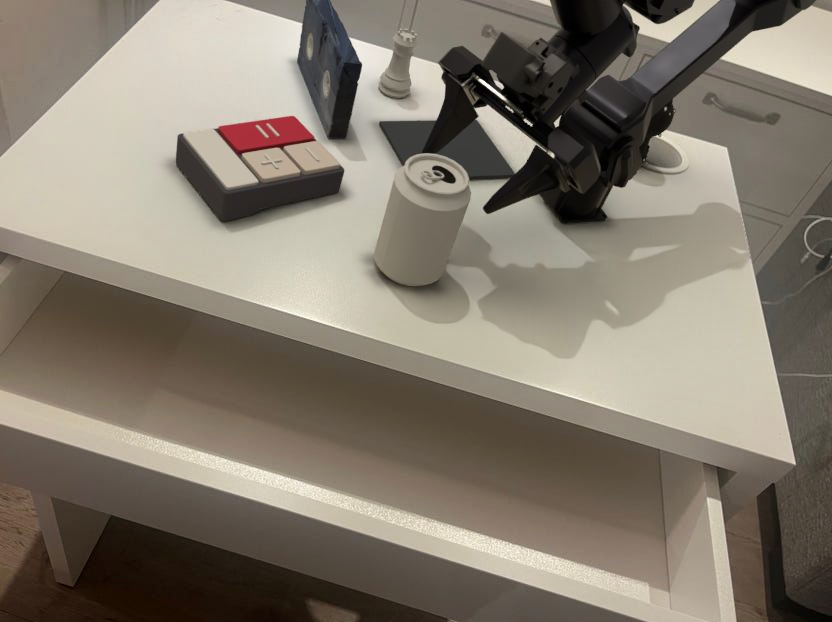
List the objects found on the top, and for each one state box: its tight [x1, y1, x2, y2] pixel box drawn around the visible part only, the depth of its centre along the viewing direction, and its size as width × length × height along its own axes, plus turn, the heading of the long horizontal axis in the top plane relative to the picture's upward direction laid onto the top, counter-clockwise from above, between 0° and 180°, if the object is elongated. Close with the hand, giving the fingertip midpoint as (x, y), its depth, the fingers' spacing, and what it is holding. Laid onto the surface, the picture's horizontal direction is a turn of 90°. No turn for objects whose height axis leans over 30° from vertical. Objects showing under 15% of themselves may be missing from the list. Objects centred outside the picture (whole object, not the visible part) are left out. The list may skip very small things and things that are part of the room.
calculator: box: [175, 115, 345, 222], centre depth 83 cm, size 11×4×15 cm
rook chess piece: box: [377, 27, 419, 99], centre depth 100 cm, size 4×4×8 cm
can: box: [373, 153, 472, 287], centre depth 75 cm, size 8×8×12 cm
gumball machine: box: [639, 98, 677, 167], centre depth 99 cm, size 7×6×10 cm
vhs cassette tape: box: [296, 0, 363, 139], centre depth 95 cm, size 18×3×10 cm, turn 13°
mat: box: [378, 119, 516, 181], centre depth 95 cm, size 14×12×1 cm
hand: (453, 183), depth 74 cm, fingers open, 9 cm apart
